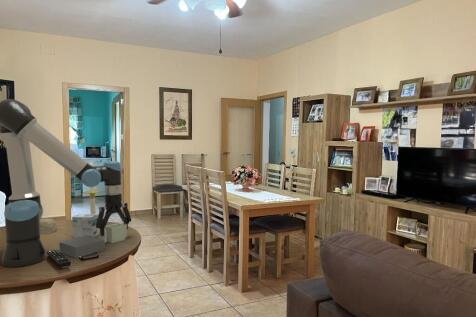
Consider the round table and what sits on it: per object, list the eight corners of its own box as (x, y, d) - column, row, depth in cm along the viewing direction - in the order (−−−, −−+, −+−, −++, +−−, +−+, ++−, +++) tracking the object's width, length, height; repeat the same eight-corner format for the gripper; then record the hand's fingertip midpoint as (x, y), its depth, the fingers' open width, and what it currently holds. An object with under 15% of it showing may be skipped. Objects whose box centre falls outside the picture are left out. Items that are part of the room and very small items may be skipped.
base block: (76, 259, 143) (76, 247, 143) (60, 253, 150) (59, 242, 150) (104, 250, 153) (104, 239, 153) (88, 245, 161) (87, 235, 161)
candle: (93, 233, 181) (90, 160, 179) (79, 230, 185) (76, 160, 183) (107, 228, 190) (105, 159, 188) (94, 226, 194) (91, 158, 192)
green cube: (112, 243, 164) (111, 228, 163) (103, 240, 168) (103, 226, 167) (125, 239, 169) (124, 225, 169) (116, 237, 173) (116, 223, 173)
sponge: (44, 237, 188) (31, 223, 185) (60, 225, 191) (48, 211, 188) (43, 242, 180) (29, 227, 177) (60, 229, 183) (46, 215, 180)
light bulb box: (99, 234, 178) (99, 213, 177) (93, 238, 171) (92, 216, 170) (79, 234, 179) (79, 213, 178) (72, 238, 172) (71, 216, 172)
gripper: (95, 197, 156) (96, 247, 157) (138, 191, 174) (139, 235, 175) (86, 196, 160) (88, 243, 162) (129, 190, 178) (130, 232, 180)
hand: (114, 239), depth 168 cm, fingers open, 10 cm apart
